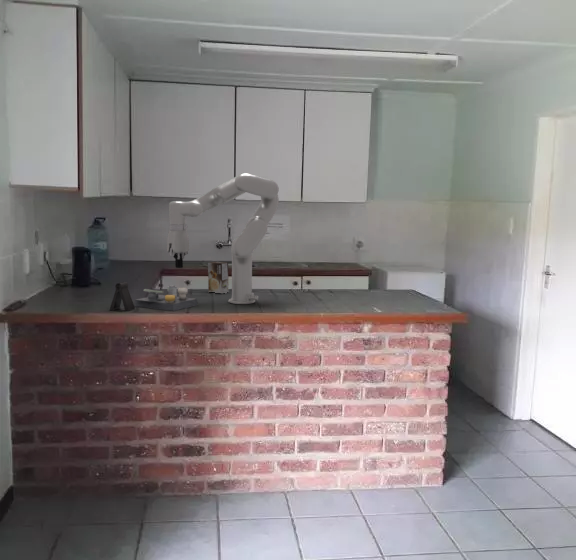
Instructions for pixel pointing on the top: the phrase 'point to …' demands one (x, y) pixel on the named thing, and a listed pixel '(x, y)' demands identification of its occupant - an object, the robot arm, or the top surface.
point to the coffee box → (218, 277)
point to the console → (164, 303)
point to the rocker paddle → (153, 291)
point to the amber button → (169, 298)
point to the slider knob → (172, 290)
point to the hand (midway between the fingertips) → (179, 267)
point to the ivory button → (182, 293)
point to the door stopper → (122, 298)
